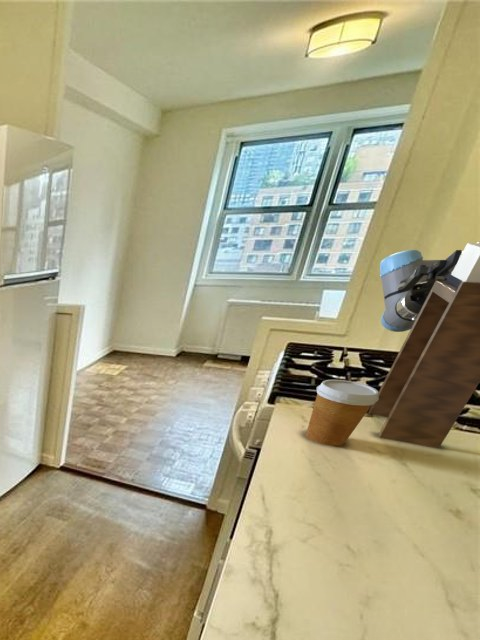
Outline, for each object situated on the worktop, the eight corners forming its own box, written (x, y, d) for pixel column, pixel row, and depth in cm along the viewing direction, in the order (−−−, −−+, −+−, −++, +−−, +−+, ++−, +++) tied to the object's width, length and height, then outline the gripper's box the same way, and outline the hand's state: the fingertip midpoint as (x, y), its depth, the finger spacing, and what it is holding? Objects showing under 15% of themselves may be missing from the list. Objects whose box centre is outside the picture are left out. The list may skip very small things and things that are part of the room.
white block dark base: (476, 277, 102) (496, 240, 98) (506, 291, 89) (531, 249, 85) (436, 275, 105) (454, 239, 101) (459, 288, 92) (481, 248, 88)
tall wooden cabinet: (420, 421, 110) (506, 273, 94) (438, 449, 98) (538, 286, 83) (367, 412, 114) (440, 270, 99) (378, 438, 103) (463, 282, 87)
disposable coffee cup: (361, 443, 101) (390, 389, 95) (341, 455, 97) (369, 399, 91) (308, 426, 108) (331, 375, 103) (287, 436, 104) (310, 384, 98)
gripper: (476, 319, 111) (544, 279, 91) (368, 310, 120) (408, 272, 101) (487, 287, 110) (558, 240, 91) (378, 280, 120) (420, 237, 100)
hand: (479, 257), depth 96 cm, fingers closed on white block dark base, 6 cm apart
